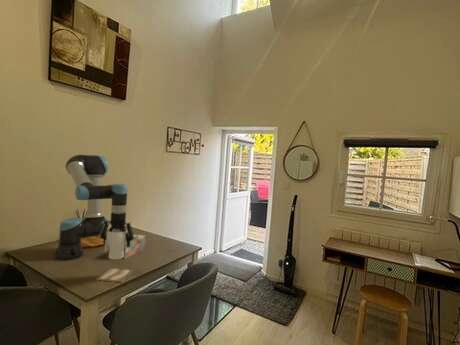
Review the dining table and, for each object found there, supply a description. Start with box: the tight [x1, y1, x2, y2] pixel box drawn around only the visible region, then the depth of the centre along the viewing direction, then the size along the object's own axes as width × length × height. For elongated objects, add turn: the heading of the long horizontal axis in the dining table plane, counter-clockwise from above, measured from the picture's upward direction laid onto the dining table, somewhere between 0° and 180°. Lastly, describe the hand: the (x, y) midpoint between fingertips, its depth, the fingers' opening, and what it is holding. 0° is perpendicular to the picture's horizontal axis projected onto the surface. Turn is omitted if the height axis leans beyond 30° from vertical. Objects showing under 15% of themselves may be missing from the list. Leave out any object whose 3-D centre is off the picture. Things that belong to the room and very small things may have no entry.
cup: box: [106, 228, 128, 260], centre depth 138 cm, size 11×11×15 cm
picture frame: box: [94, 267, 134, 283], centre depth 139 cm, size 14×14×1 cm
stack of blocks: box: [122, 234, 147, 260], centre depth 172 cm, size 21×6×12 cm, turn 162°
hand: (116, 251), depth 138 cm, fingers closed on cup, 10 cm apart
